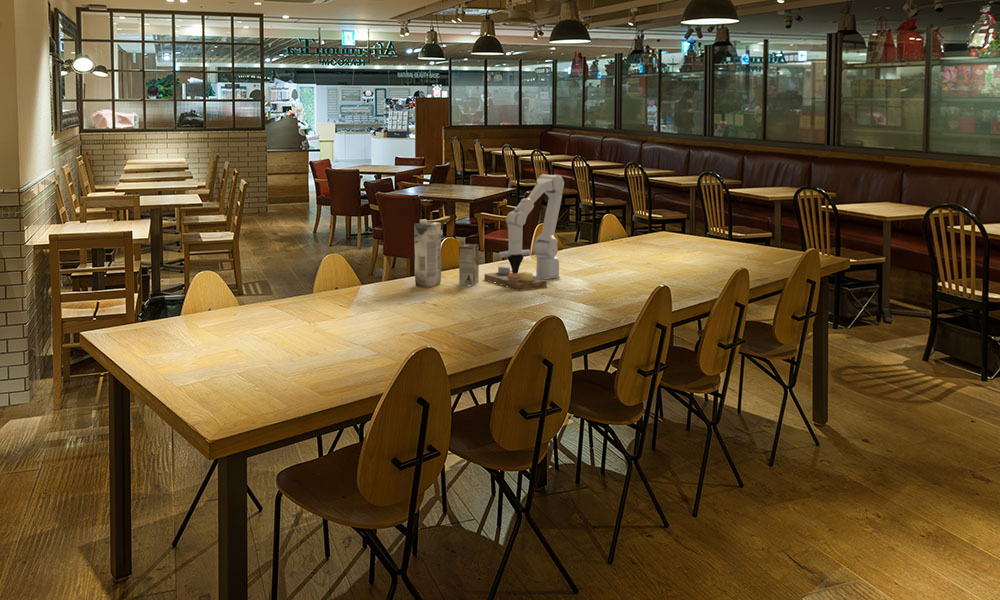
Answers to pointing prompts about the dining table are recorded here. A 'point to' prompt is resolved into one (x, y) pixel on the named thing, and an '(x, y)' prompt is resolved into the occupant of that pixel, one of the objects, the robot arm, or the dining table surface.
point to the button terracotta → (514, 275)
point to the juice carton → (427, 253)
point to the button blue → (503, 270)
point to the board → (515, 281)
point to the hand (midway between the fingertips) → (515, 273)
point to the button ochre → (526, 277)
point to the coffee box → (469, 264)
